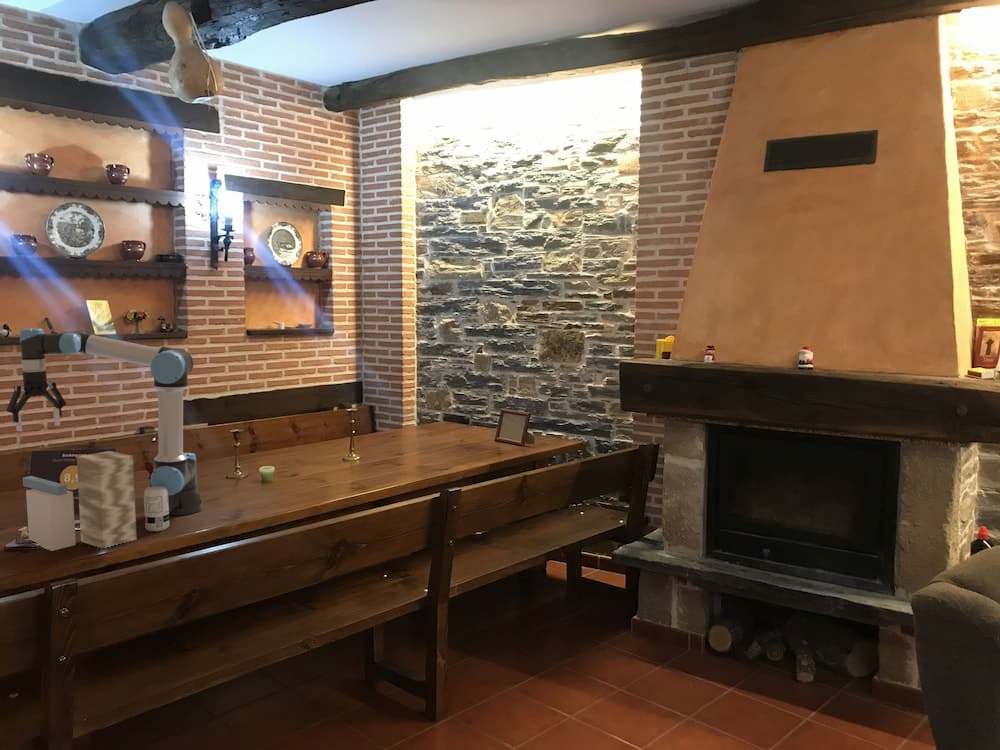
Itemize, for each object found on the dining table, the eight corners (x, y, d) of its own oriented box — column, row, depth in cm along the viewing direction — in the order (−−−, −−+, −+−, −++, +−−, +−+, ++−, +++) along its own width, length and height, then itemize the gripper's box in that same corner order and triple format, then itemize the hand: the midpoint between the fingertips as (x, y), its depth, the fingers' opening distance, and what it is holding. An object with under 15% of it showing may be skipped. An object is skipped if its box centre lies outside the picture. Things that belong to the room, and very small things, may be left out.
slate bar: (31, 484, 285) (31, 476, 285) (67, 493, 273) (66, 485, 272) (23, 486, 283) (22, 477, 283) (58, 495, 270) (57, 486, 270)
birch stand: (113, 532, 291) (110, 450, 288) (136, 539, 283) (132, 455, 280) (81, 541, 281) (76, 456, 278) (103, 548, 273) (99, 461, 270)
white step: (52, 537, 286) (49, 485, 284) (75, 544, 277) (72, 492, 275) (29, 542, 279) (26, 490, 277) (51, 550, 271) (49, 496, 269)
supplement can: (140, 529, 295) (138, 489, 294) (160, 524, 302) (159, 484, 300) (153, 533, 291) (152, 492, 289) (174, 527, 298) (172, 487, 296)
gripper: (63, 367, 308) (67, 422, 310) (-8, 373, 287) (-3, 432, 290) (73, 368, 304) (77, 423, 306) (3, 374, 283) (7, 434, 286)
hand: (38, 428), depth 298 cm, fingers open, 13 cm apart
